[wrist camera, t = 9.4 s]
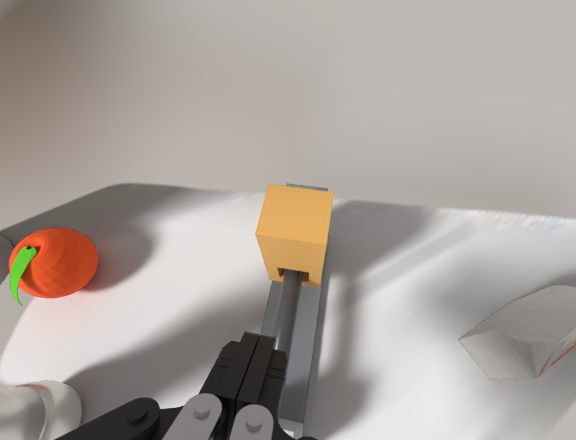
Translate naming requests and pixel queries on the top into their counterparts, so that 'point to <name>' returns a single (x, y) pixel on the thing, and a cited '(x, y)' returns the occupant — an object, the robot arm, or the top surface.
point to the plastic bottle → (39, 411)
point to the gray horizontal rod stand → (293, 338)
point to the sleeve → (294, 232)
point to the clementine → (52, 263)
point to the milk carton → (525, 334)
